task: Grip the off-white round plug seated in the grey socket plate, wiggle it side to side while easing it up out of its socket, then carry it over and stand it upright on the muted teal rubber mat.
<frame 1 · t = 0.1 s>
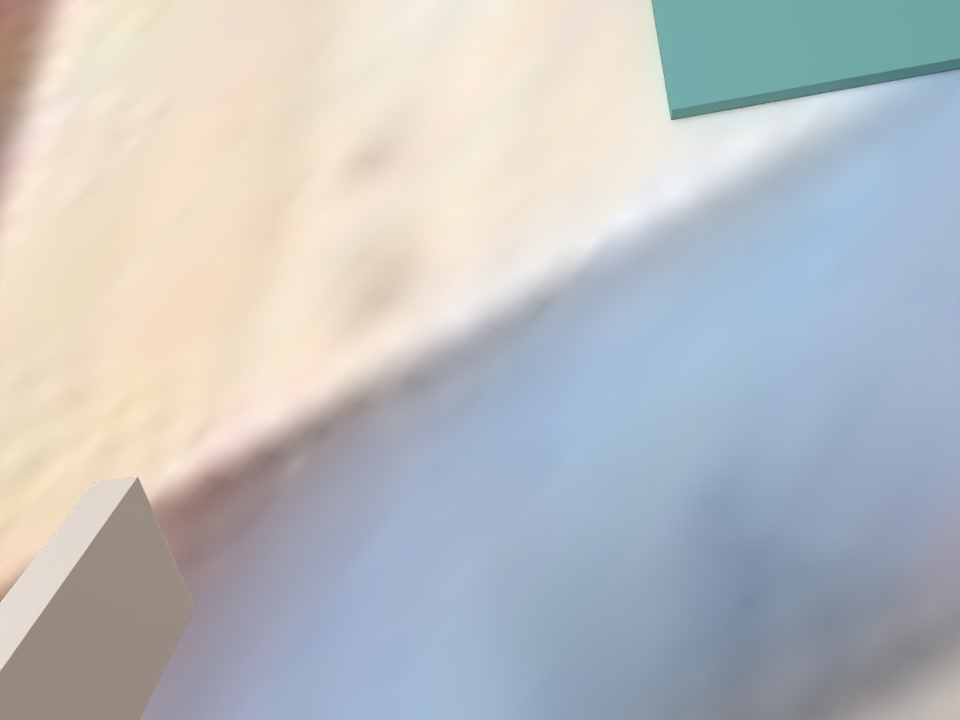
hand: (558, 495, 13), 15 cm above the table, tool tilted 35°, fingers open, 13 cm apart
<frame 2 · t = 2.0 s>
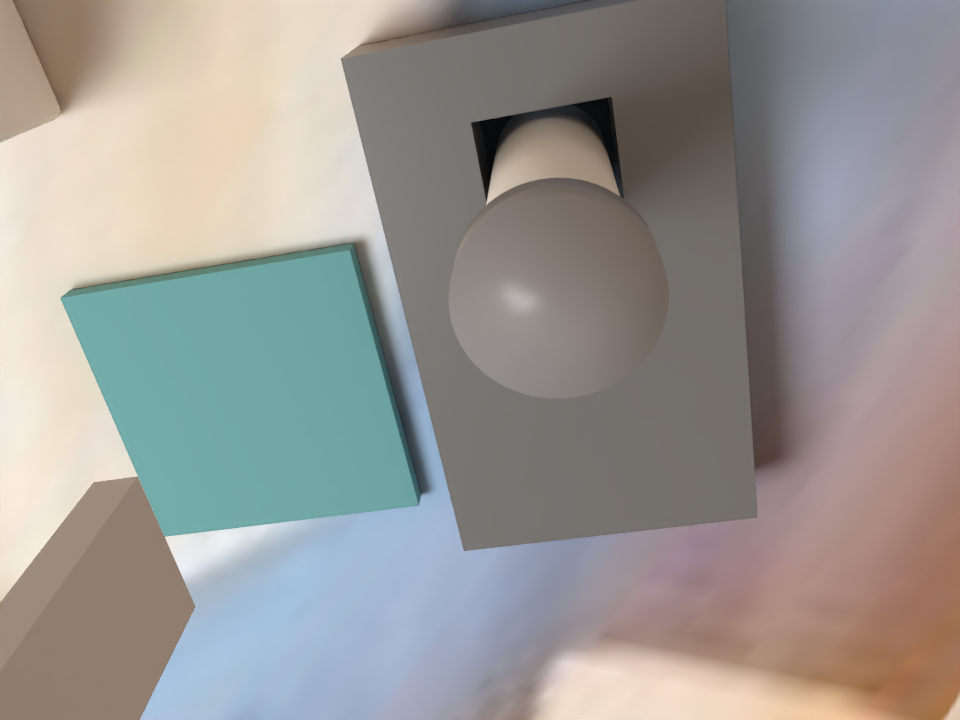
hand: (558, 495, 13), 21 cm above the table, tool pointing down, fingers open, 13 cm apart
plug: (550, 156, 32), resting in grey socket plate
grey socket plate: (570, 282, 34), on the table
mat: (253, 397, 37), on the table
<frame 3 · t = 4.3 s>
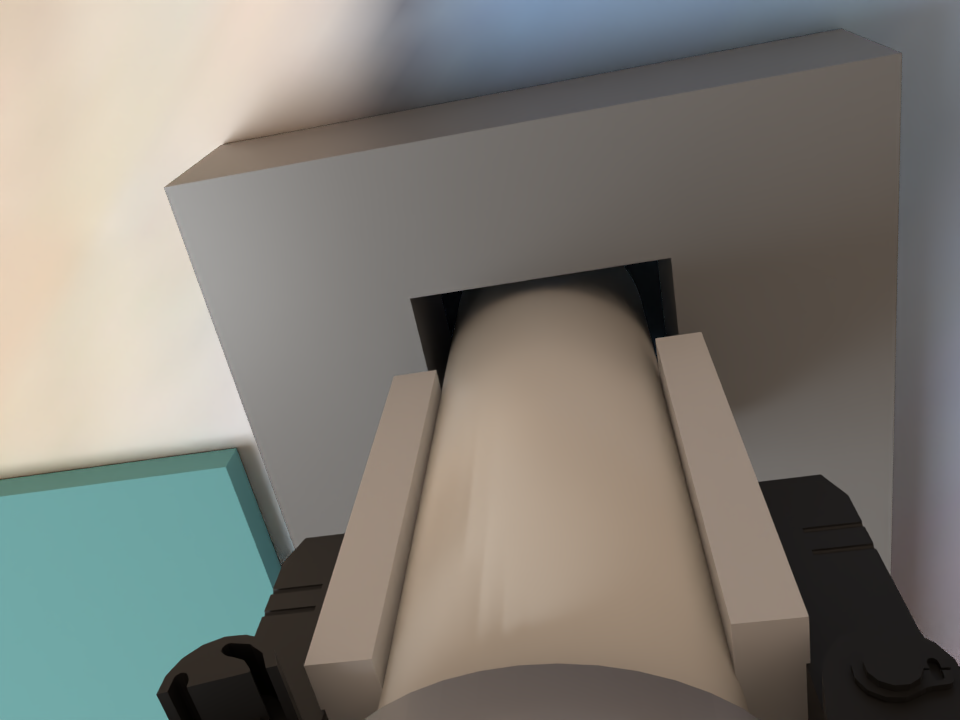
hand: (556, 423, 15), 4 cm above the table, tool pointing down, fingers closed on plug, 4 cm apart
plug: (549, 322, 19), resting in grey socket plate, touching gripper
grey socket plate: (586, 509, 21), on the table
mat: (101, 654, 24), on the table
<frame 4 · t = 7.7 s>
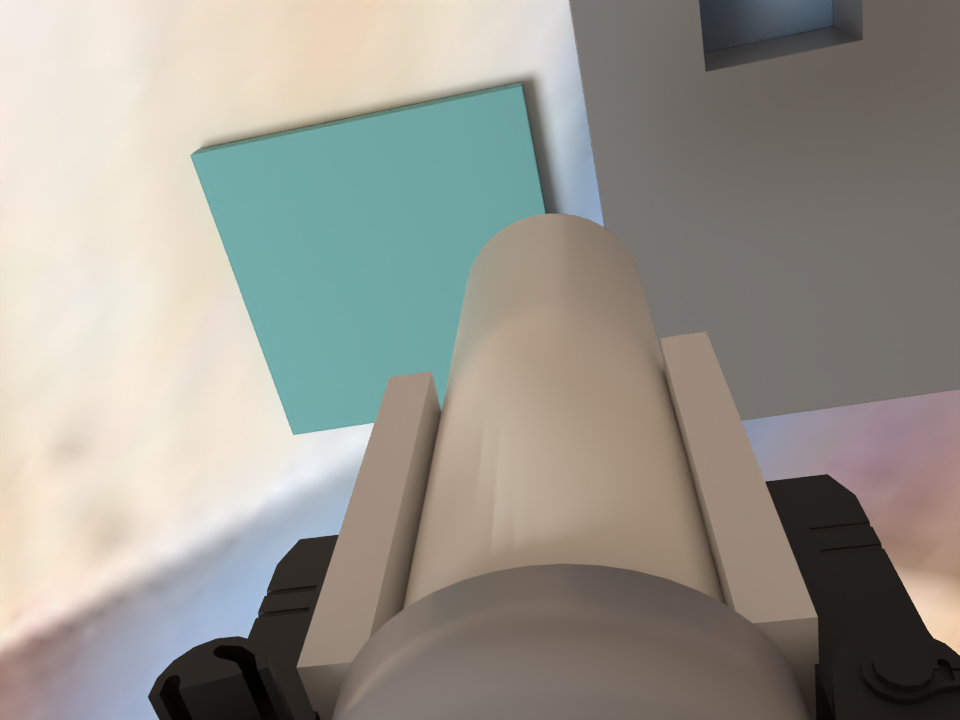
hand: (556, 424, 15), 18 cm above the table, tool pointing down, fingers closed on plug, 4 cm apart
plug: (553, 298, 20), point 13 cm above the table, touching gripper
grey socket plate: (766, 122, 30), on the table
mat: (397, 271, 34), on the table
when the fingers open (6 cm above the table, at t = 11.2 s): plug stays where it is, resting on mat.
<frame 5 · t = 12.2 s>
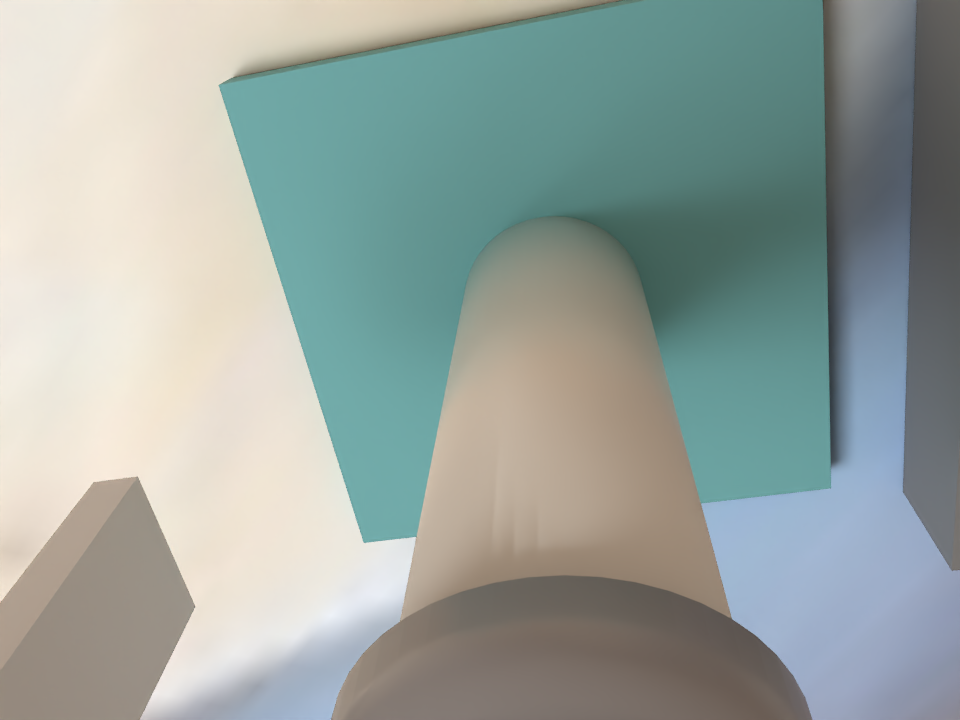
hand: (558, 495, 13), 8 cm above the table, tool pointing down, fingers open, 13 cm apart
plug: (553, 301, 20), point 1 cm above the table, touching mat
mat: (552, 291, 21), on the table
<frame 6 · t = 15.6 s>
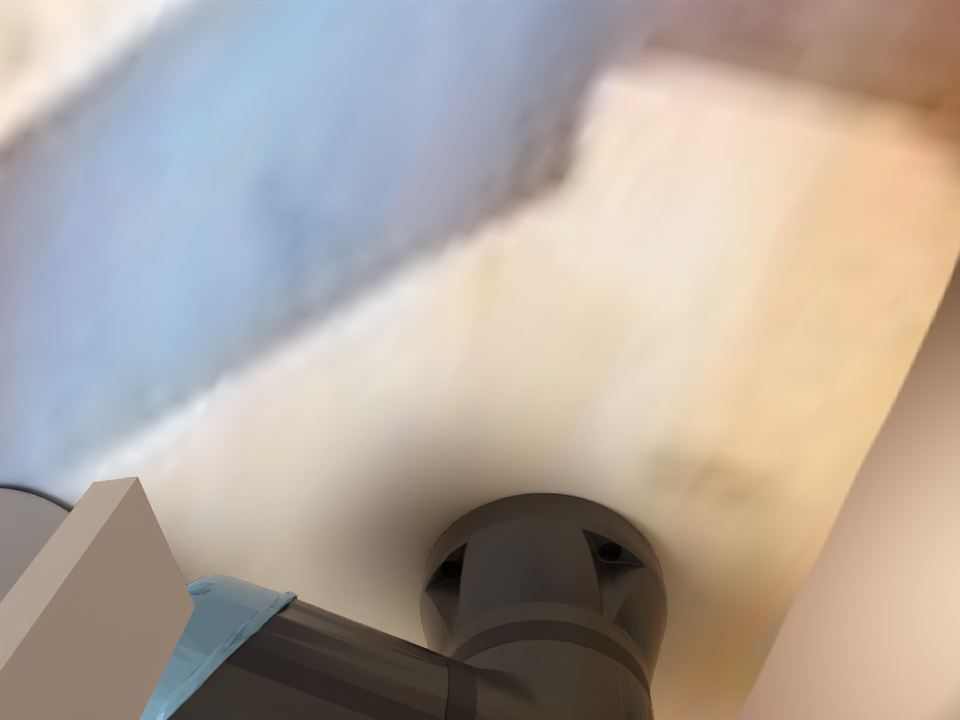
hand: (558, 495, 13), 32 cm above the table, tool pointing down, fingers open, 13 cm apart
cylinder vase: (25, 558, 57), on the table
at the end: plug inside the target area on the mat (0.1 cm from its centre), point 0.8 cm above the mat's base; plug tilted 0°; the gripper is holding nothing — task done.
